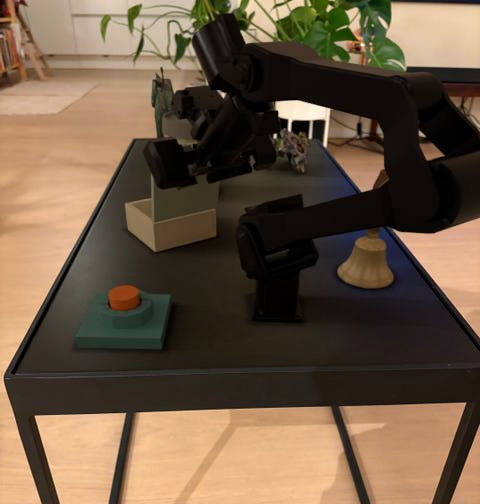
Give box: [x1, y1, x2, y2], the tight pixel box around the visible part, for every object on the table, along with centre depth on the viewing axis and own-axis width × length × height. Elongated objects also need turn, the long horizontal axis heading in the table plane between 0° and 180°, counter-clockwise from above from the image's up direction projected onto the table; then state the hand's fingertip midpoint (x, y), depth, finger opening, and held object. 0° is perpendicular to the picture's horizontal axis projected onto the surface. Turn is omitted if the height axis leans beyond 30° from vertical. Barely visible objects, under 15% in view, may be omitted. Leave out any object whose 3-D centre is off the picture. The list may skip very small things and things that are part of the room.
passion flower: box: [273, 127, 312, 174], centre depth 117 cm, size 11×11×12 cm
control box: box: [75, 289, 173, 350], centre depth 64 cm, size 10×10×4 cm
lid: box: [150, 142, 220, 223], centre depth 78 cm, size 11×12×5 cm
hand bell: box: [337, 168, 394, 290], centre depth 73 cm, size 8×8×16 cm
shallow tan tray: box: [124, 197, 217, 253], centre depth 88 cm, size 11×12×5 cm
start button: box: [108, 284, 140, 311], centre depth 63 cm, size 4×4×2 cm
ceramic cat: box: [150, 66, 175, 139], centre depth 119 cm, size 20×6×20 cm, turn 10°
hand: (192, 184), depth 78 cm, fingers open, 5 cm apart
